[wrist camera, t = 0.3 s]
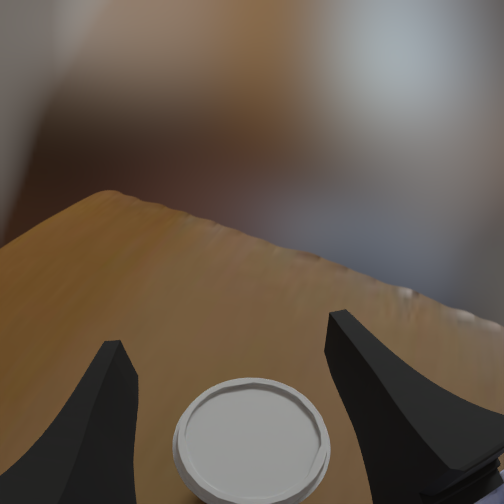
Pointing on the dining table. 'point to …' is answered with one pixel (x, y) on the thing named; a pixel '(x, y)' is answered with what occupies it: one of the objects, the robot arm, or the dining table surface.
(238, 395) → the disposable coffee cup
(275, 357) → the dining table surface
